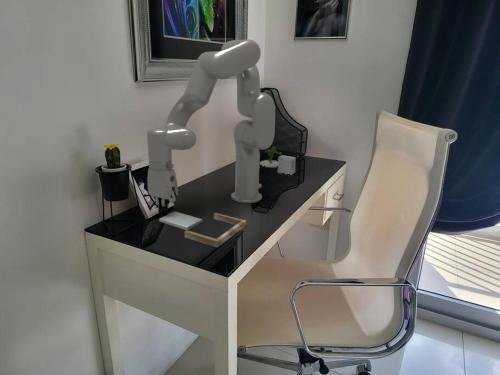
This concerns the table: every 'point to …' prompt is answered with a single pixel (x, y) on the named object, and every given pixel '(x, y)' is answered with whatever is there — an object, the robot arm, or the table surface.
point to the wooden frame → (223, 238)
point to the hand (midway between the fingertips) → (163, 215)
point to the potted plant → (271, 162)
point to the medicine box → (286, 164)
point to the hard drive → (181, 220)
